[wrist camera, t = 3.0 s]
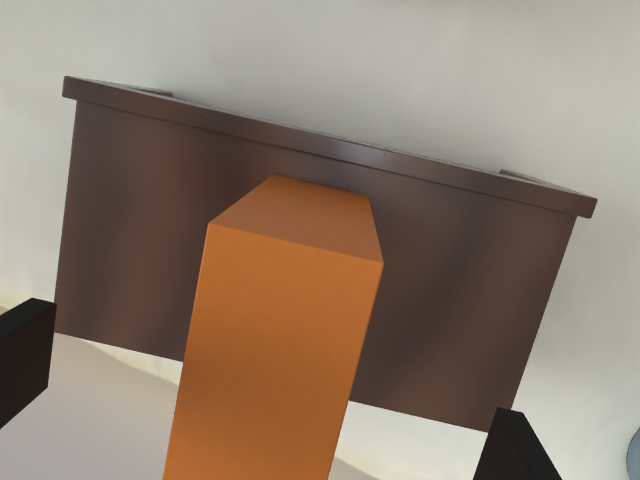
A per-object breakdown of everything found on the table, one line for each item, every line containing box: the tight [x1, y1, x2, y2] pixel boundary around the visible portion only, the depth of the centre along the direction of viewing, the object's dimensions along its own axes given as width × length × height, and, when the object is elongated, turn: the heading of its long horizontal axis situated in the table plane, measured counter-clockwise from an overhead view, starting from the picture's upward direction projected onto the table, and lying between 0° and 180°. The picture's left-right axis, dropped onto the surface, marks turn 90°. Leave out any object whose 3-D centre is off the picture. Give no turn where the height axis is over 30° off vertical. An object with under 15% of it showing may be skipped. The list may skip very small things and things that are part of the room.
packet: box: [162, 174, 384, 480], centre depth 22 cm, size 5×9×13 cm, turn 167°
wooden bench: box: [54, 76, 597, 433], centre depth 33 cm, size 26×14×12 cm, turn 77°
